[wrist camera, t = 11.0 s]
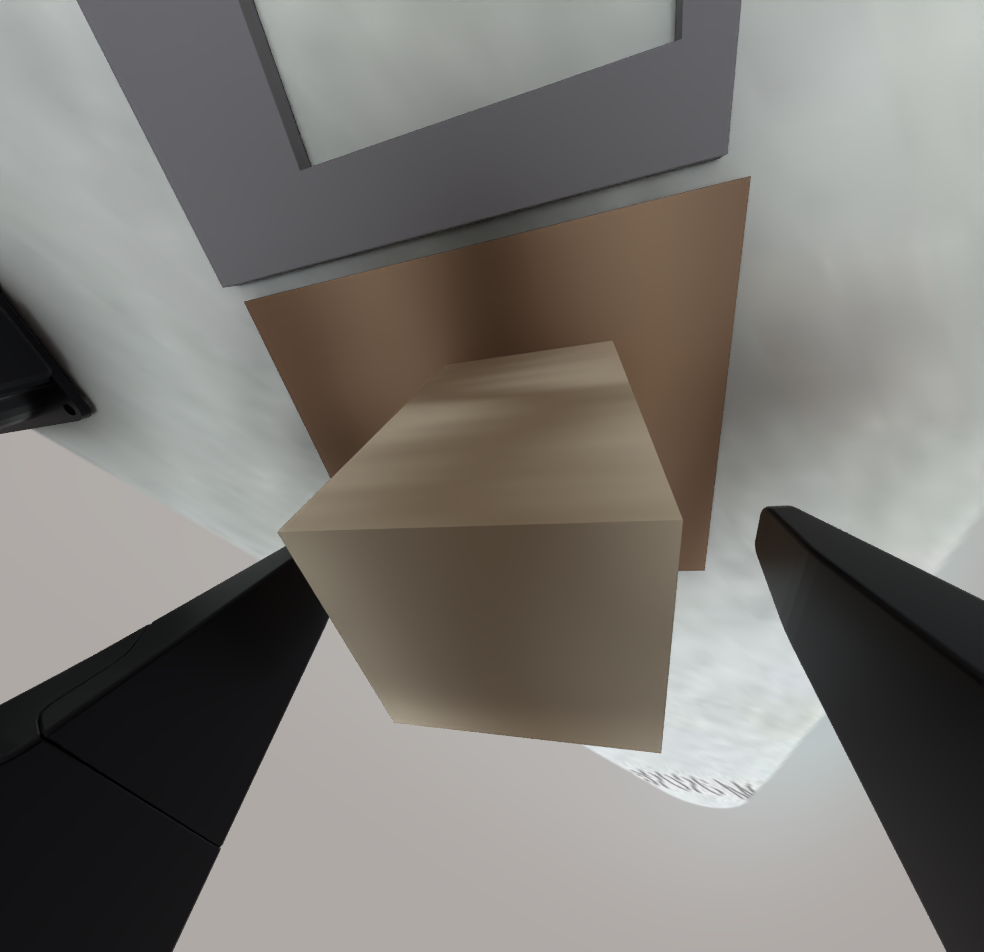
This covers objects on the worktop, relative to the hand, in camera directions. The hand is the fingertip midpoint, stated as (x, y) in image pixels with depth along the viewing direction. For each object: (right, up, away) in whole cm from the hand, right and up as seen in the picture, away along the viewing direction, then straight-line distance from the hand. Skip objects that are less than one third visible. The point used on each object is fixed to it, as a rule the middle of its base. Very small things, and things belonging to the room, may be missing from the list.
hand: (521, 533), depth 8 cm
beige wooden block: (+1, +3, +4) cm, 5 cm away
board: (0, +3, +5) cm, 6 cm away
